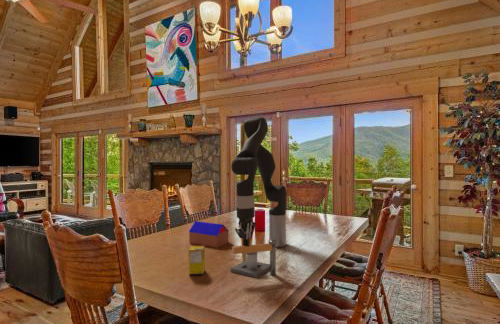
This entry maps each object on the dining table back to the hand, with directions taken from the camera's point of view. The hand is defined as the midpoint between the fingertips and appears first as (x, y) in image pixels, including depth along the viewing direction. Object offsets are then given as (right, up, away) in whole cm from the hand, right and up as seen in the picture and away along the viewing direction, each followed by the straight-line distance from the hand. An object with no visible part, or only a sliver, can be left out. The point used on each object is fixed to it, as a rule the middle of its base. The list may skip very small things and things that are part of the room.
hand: (246, 247), depth 130 cm
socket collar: (+2, -12, +6) cm, 13 cm away
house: (-22, -12, +50) cm, 56 cm away
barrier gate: (+4, -11, -1) cm, 12 cm away
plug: (+2, -12, +6) cm, 13 cm away
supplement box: (-21, -12, +3) cm, 24 cm away
